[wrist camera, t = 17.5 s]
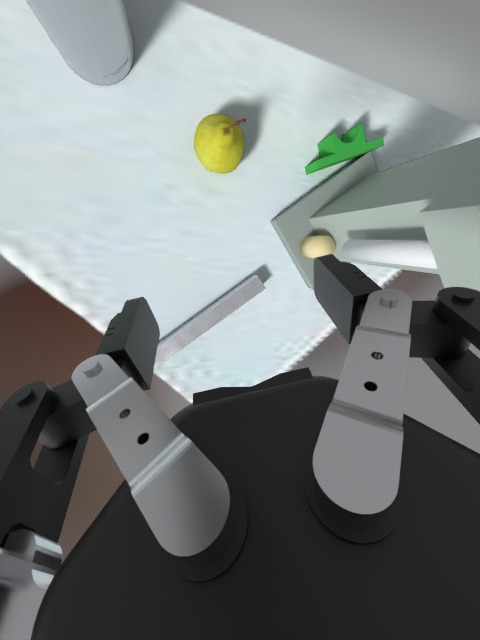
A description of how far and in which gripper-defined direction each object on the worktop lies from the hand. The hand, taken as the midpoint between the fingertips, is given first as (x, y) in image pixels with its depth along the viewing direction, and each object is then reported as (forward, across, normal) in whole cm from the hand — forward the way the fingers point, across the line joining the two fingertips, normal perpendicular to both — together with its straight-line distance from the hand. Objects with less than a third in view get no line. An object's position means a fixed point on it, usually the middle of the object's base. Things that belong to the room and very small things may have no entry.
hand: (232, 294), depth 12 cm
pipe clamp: (+38, -22, +1) cm, 44 cm away
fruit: (+37, -2, -3) cm, 37 cm away
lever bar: (+27, +7, +21) cm, 35 cm away
